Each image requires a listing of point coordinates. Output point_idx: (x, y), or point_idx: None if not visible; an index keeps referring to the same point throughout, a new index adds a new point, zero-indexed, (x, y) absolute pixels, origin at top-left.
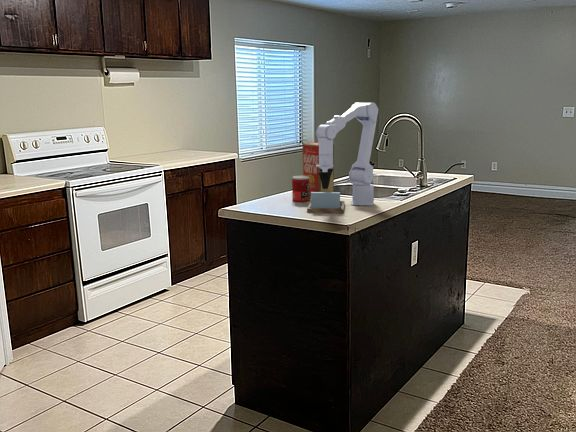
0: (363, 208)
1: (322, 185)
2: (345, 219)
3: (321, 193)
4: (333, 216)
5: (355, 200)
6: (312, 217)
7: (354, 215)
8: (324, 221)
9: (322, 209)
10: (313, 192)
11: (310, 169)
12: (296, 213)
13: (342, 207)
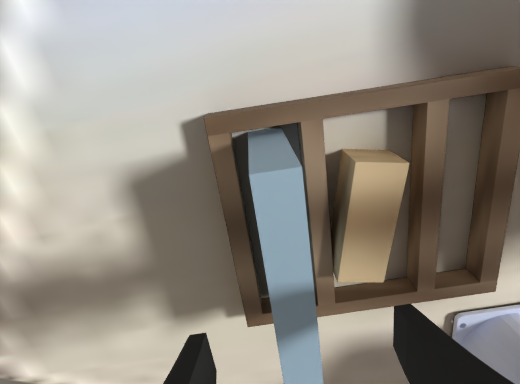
0: (380, 367)
1: (175, 367)
2: (101, 342)
3: (265, 267)
4: (148, 283)
5: (482, 347)
6: (72, 183)
7: None
8: (4, 266)
9: (225, 219)
10: (273, 195)
11: None
12: (151, 41)
13: None
